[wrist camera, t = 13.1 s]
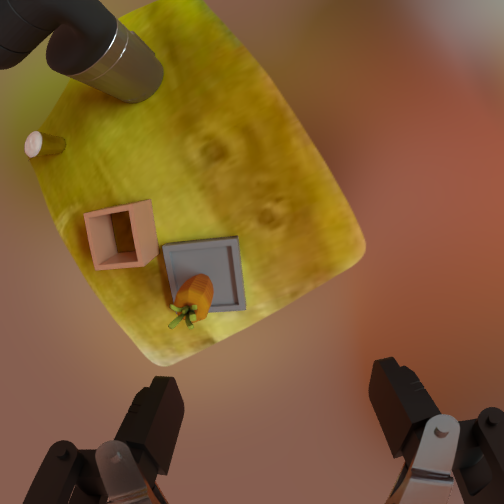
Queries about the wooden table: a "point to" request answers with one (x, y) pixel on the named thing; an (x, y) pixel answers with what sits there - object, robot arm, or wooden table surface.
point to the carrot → (193, 300)
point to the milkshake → (43, 144)
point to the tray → (209, 269)
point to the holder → (105, 241)
